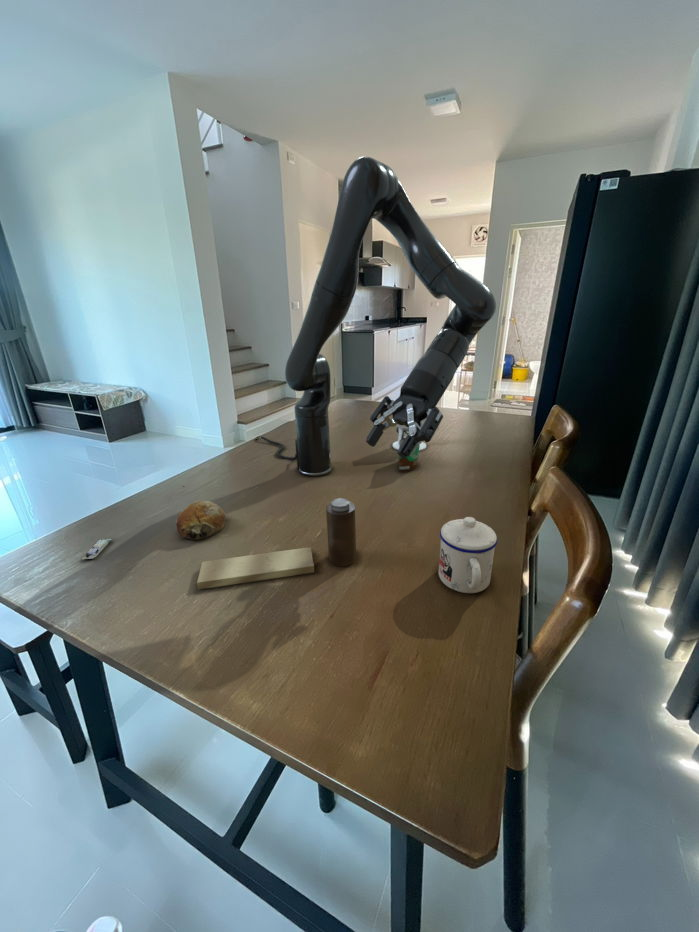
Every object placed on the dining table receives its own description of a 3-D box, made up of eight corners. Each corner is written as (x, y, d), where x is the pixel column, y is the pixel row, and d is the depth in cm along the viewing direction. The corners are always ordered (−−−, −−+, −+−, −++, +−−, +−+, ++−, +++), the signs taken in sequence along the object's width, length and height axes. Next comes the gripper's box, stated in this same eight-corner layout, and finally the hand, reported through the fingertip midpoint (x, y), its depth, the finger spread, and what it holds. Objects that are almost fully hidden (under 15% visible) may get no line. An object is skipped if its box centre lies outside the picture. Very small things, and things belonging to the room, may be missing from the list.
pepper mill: (323, 559, 72) (319, 503, 68) (341, 547, 76) (339, 493, 71) (343, 570, 69) (341, 512, 65) (361, 557, 73) (360, 501, 68)
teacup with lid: (433, 560, 71) (437, 505, 66) (483, 561, 70) (490, 506, 66) (444, 607, 60) (449, 545, 55) (503, 609, 59) (513, 546, 55)
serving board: (198, 589, 65) (196, 582, 65) (203, 568, 71) (202, 561, 70) (314, 572, 69) (313, 565, 68) (311, 553, 74) (310, 546, 74)
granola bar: (101, 541, 80) (99, 537, 80) (112, 541, 80) (111, 536, 80) (82, 561, 74) (80, 556, 74) (94, 560, 74) (92, 556, 74)
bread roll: (232, 538, 87) (237, 503, 87) (202, 544, 77) (207, 504, 77) (197, 531, 90) (201, 497, 90) (163, 536, 80) (168, 498, 80)
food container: (420, 474, 107) (422, 441, 103) (398, 473, 108) (399, 440, 105) (421, 459, 118) (423, 428, 115) (401, 458, 120) (402, 427, 116)
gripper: (393, 364, 76) (349, 431, 74) (451, 371, 66) (402, 449, 64) (410, 387, 81) (370, 450, 79) (467, 397, 71) (422, 470, 69)
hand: (384, 450), depth 71 cm, fingers open, 8 cm apart
